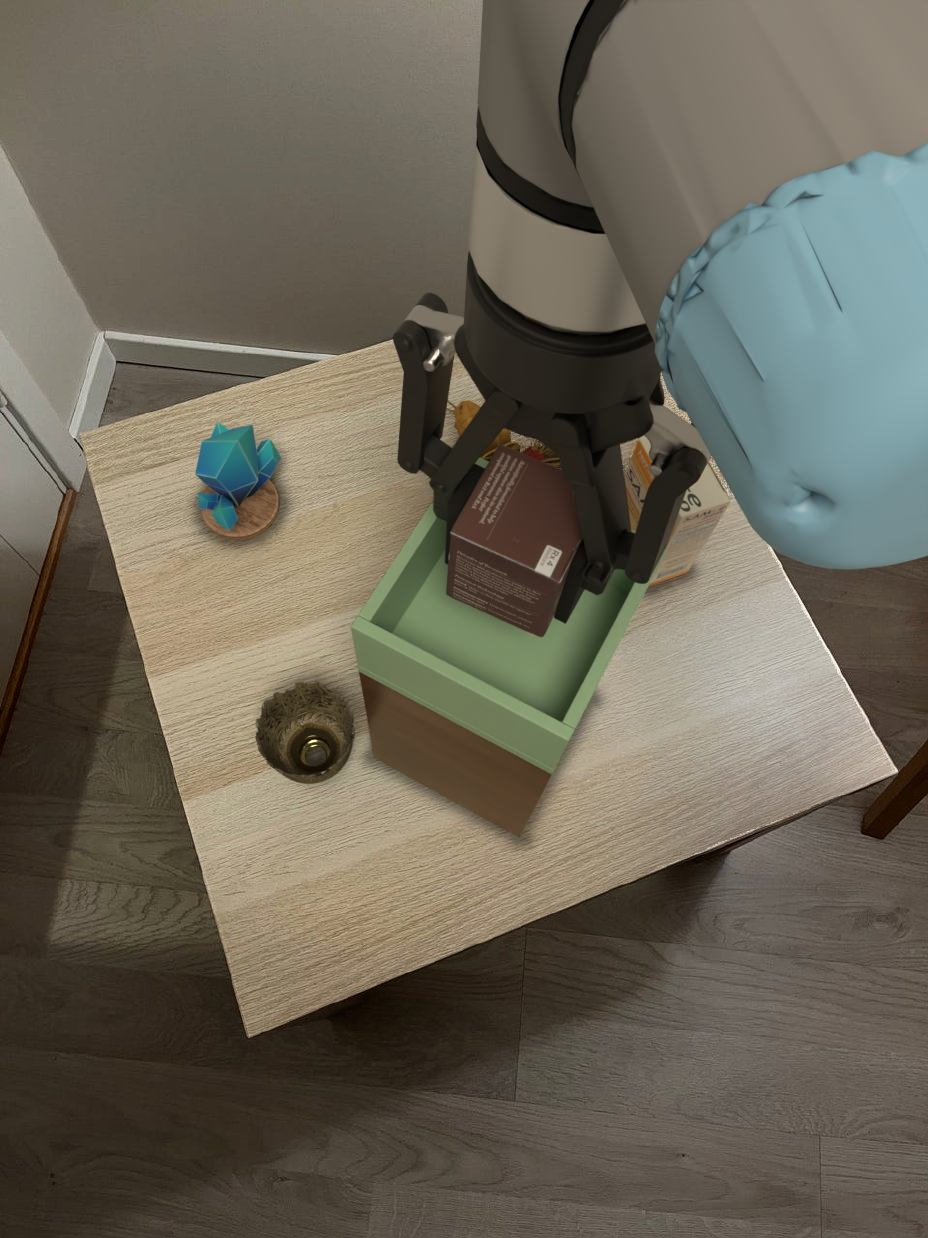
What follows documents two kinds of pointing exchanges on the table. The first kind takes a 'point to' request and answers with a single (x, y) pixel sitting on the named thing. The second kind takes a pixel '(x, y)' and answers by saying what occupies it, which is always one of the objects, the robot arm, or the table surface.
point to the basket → (488, 651)
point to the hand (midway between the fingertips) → (515, 574)
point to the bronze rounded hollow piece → (305, 731)
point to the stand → (451, 758)
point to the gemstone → (237, 482)
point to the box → (515, 541)
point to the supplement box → (694, 516)
